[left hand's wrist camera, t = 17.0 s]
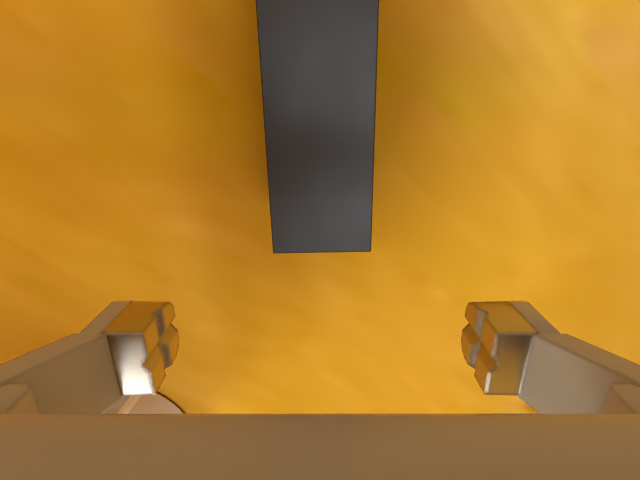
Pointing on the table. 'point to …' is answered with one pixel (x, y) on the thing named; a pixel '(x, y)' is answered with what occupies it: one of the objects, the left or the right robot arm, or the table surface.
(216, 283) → the table surface
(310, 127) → the box
